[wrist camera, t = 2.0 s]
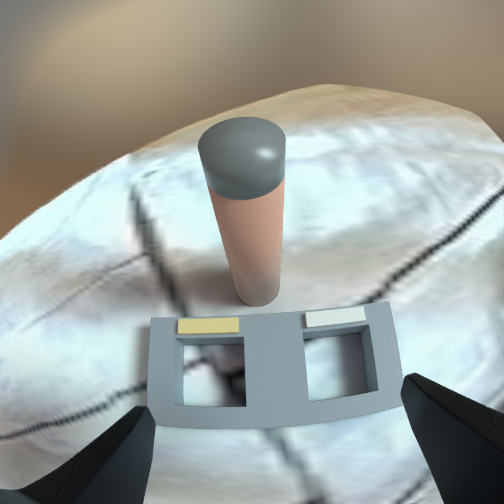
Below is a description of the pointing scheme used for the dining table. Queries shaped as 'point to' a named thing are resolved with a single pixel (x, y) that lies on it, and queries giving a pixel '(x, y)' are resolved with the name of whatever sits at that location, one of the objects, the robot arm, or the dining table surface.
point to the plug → (248, 200)
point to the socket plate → (273, 367)
